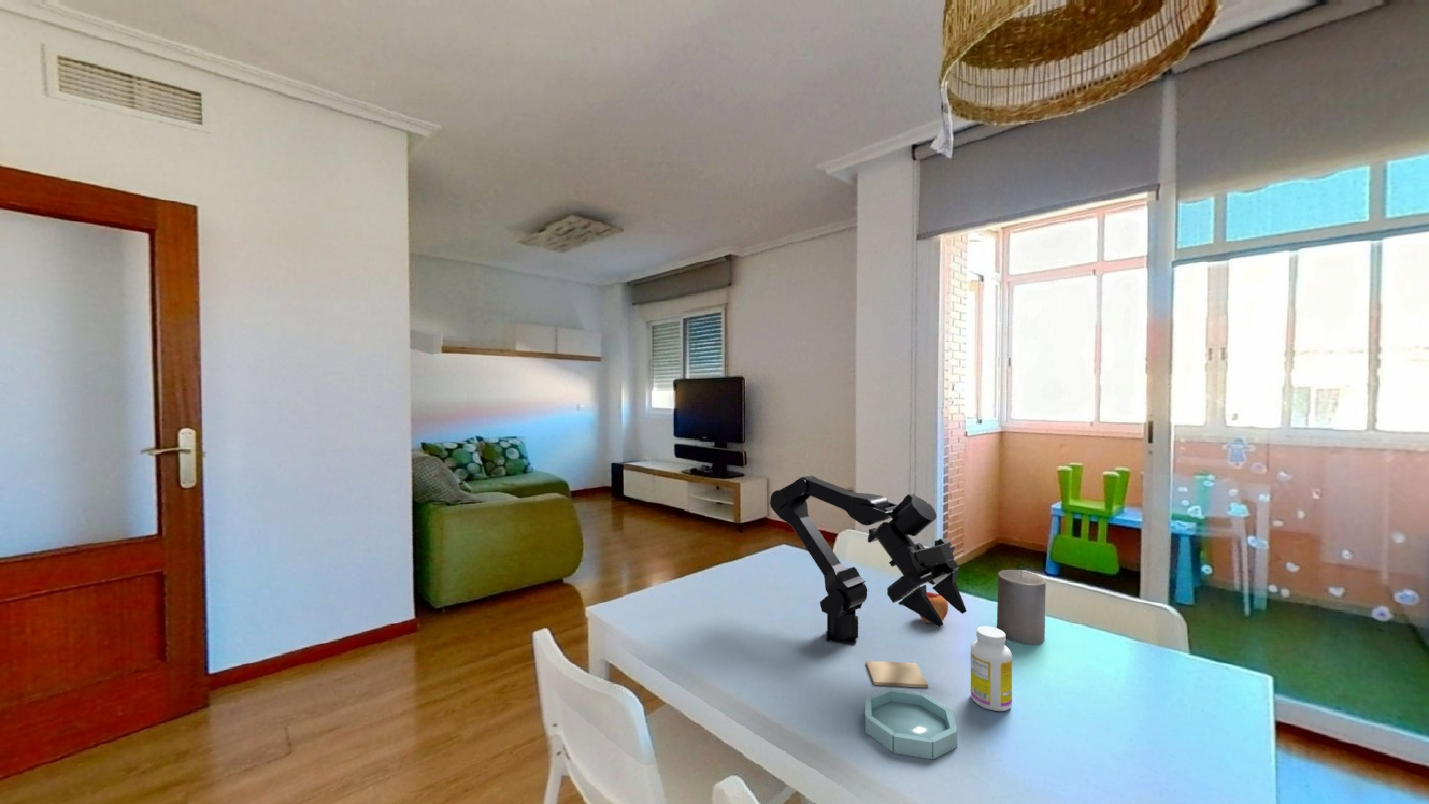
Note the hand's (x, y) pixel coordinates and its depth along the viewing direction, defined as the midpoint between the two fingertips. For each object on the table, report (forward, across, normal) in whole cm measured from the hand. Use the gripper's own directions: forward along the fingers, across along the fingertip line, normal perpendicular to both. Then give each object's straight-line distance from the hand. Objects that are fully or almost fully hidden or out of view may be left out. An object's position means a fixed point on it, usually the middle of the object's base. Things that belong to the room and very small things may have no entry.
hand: (953, 618), depth 101 cm
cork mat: (+3, -5, +15) cm, 16 cm away
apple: (-3, +24, +21) cm, 32 cm away
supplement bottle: (+14, 0, +4) cm, 15 cm away
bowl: (+10, -18, +8) cm, 23 cm away
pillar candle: (+9, +33, +9) cm, 35 cm away
